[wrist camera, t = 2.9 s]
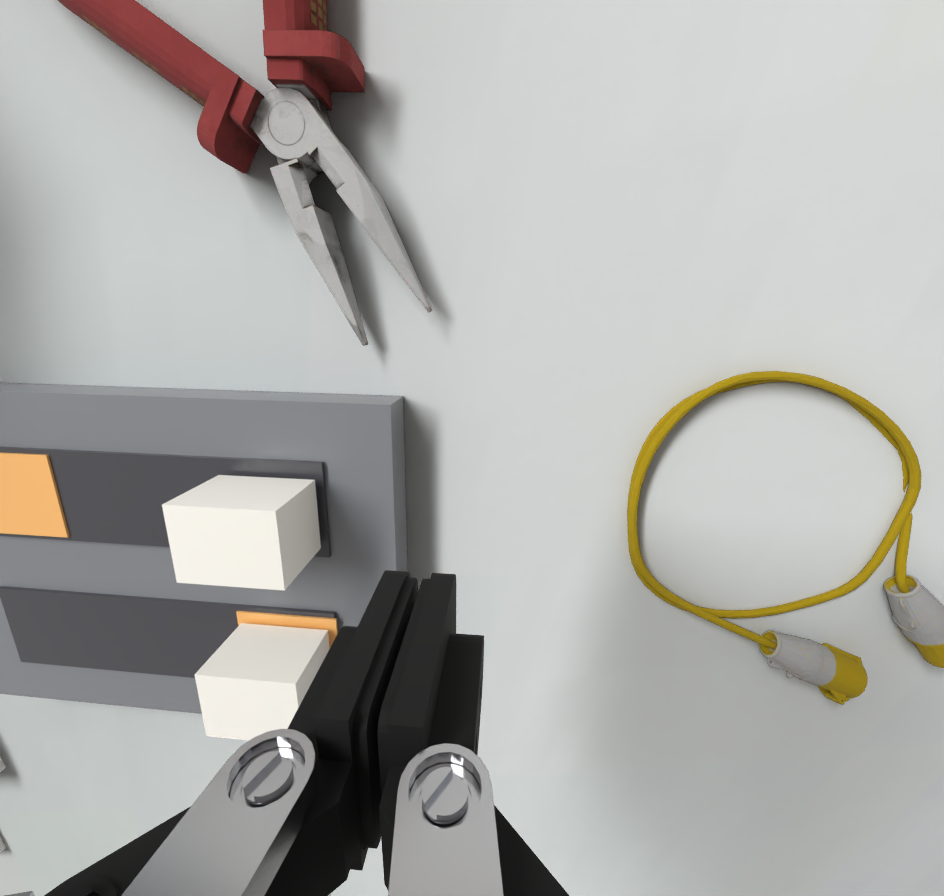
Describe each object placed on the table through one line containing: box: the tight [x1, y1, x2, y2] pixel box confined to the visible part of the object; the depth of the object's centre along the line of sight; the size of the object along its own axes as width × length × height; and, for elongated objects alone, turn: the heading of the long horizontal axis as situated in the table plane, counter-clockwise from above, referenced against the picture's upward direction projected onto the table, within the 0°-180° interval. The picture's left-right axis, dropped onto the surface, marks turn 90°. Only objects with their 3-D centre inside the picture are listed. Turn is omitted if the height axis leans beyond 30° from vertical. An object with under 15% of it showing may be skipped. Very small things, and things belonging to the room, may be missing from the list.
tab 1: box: [162, 475, 321, 591], centre depth 17 cm, size 4×3×3 cm
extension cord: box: [627, 371, 944, 704], centre depth 19 cm, size 12×16×2 cm
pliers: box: [58, 0, 432, 346], centre depth 15 cm, size 12×21×3 cm, turn 26°
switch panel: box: [0, 383, 408, 714], centre depth 21 cm, size 22×16×2 cm
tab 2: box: [195, 623, 330, 740], centre depth 19 cm, size 4×3×3 cm
